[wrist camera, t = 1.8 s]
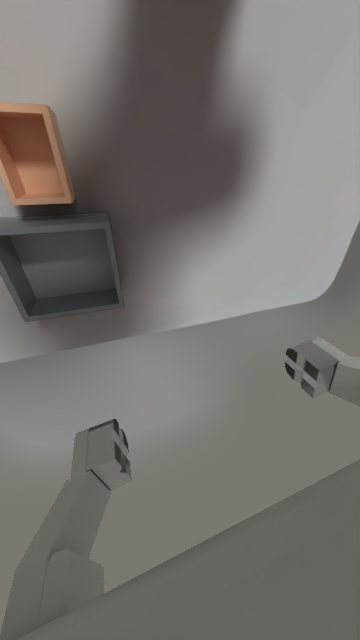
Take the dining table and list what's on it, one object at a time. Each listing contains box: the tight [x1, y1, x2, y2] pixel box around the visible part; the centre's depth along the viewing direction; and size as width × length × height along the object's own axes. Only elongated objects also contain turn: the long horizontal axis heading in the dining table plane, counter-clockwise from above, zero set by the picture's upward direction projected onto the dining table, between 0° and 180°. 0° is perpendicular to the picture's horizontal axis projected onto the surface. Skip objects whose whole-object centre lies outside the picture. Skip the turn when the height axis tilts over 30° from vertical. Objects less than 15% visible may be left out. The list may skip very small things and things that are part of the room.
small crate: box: [0, 102, 76, 205], centre depth 24 cm, size 8×6×5 cm
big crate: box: [0, 213, 124, 322], centre depth 30 cm, size 12×13×6 cm
